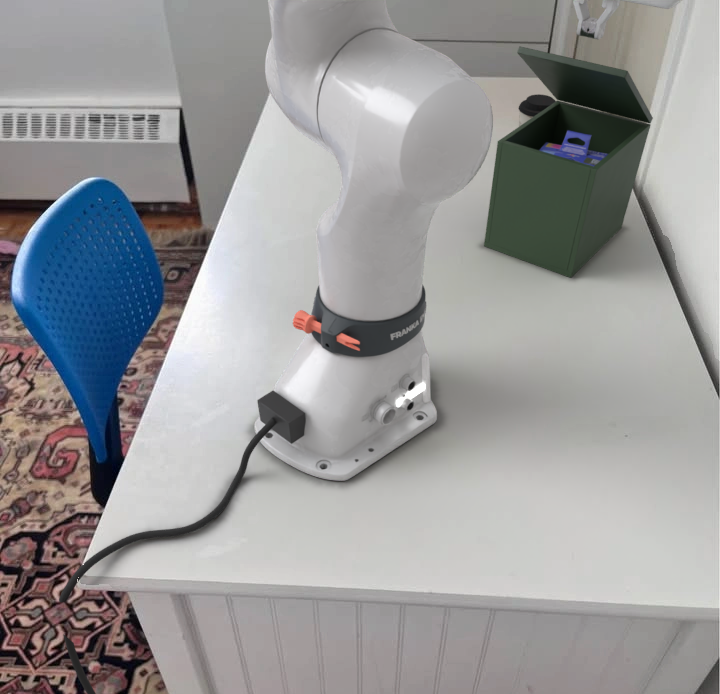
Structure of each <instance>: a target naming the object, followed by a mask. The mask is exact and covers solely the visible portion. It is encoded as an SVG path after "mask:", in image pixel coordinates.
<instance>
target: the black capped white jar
mask: <svg viewBox="0 0 720 694" xmlns="http://www.w3.org/2000/svg"><path fill="white" fill-rule="evenodd" d="M556 101H557V100H555V98H553V97H552V96H549V95H548V94H547V95H546V94H531V95H529V96H526V99H524V100H522V101H521V102H520V103H519V106H518V107H517V108H518V111H519V115H518V127H519V126H521V125H522V124H524V123H525V122H527V121H528V120H530V119H531V118H533V117H534V116H535V115H537V114H538V113H540V112H541V111H543V110H544V109H546V108H547V107H549V106H550V105H552V104H553V103H555V102H556Z"/></svg>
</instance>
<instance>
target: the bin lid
mask: <svg viewBox="0 0 720 694" xmlns="http://www.w3.org/2000/svg"><path fill="white" fill-rule="evenodd" d="M517 55H518V56H519V57H520V58H521V59H522V61H523V62H524V63H525V64H526V66H528V68H529V69H530V70H531V71H532V72H533V73H534V75H535V76H536V77H537V78H538V79H539V80H540V82H541V83H542V84H543V85H544V86H545V88H546V89H547V90H548V91H549V92H550V94H551V95H553V97H554V99H556V101H561V102H566V103H569V104H573V105H577V106H581V107H585V108H589V109H593V110H597V111H601V112H605V113H608V114H612V115H616V116H620V117H624V118H628V119H632V120H636V121H640V122H644V123H647V124H652V122H653V119H654V117H653V115H652V114H651V112H650V110H649V108H648V106H647V104H646V102H645V100H644V98H643V97H642V95H641V92H640V91H639V89H638V87H637V84H636V83H635V82H634V80H633V78H632V76H631V75H630V73H629V71H628V70H627V69H621V68H617V67H612V66H608V65H604V64H599V63H596V62H590V61H586V60H581V59H577V58H573V57H568V56H565V55H560V54H555V53H552V52H547V51H542V50H537V49H535V48H534V49H533V48H529V47H524V46H518V48H517Z"/></svg>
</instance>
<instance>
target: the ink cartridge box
mask: <svg viewBox="0 0 720 694" xmlns="http://www.w3.org/2000/svg"><path fill="white" fill-rule="evenodd" d="M591 136H592V135H587V134H583V133H578V132H573V131H569V130H567V133H566V136H565V138H564V141H563V143H562V145H558V144H553V143H548V142H546V143H545V144H544V145H543V147H542V148H541V149H540V150H539V151H543V152H546V153H550V154H553V155H556V156H560V157H563V158H567V159H570V160H574V161H577V162H580V163H584V164H587V165H591V166H593V167H594V166H595V165H596V164H597V163H598V162H600V161H601V160H602V159H603V158H604V157H606V156H607V155H608V154H607V153H602V152H596V151H591V150H588V147H589V144H590V139H591ZM569 138H579V139H581V140H583V141H584V142H585V145H583V146H581V145H577V144H571V143H568V139H569Z"/></svg>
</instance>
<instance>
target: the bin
mask: <svg viewBox="0 0 720 694" xmlns="http://www.w3.org/2000/svg"><path fill="white" fill-rule="evenodd" d="M555 101H556V102H555V103H553V104H552V105H550V106H549V107H547V108H546V109H544V110H543V111H541V112H540V113H538V114H537V115H535V116H534V117H533V118H531V119H530V120H528V121H527V122H525V123H524V124H522V125H521V126H519V125H518V127H516V128H515V129H513V130H512V131H511V132H509V133H508V134H506V135H505V136H503V137H502V138H500V139H499V140H497V143H496V144H497V145H496V152H495V160H494V168H493V175H492V182H491V189H490V197H489V204H488V211H487V212H488V213H487V219H486V228H485V235H484V242H483V247H485V248H488V249H490V250H494V251H496V252H499V253H502V254H504V255H507V256H509V257H513V258H515V259H518V260H521V261H524V262H527V263H529V264H532V265H535V266H537V267H540V268H542V269H545V270H548V271H551V272H554V273H555V274H560V275H563V276H565V277H568V278H572V277H573V276H574V275H575V274H576V273H578V272H579V270H580V269H581V268H582V267H583V266H585V265H586V263H588V262H589V261H590V260H591V259H592V258H593V257H594V256H595V255H596V254H597V253H598V252H599V251H600V250H601V249H602V248H603V247H604V246H605V245H606V244H607V243H608V242H609V241H610V240H611V239H612V238H613V237H614V236H615V235H616V234H617V233H618V232H619V231H620V230H621V229H622V227H623V224H624V220H625V217H626V214H627V209H628V206H629V204H630V199H631V196H632V192H633V189H634V188H633V187H634V185H635V182H636V177H637V175H638V171H639V167H640V164H641V161H642V157H643V153H644V149H645V146H646V143H647V140H648V135H649V132H650V129H651V125H652V123H646V122H642V121H638V120H634V119H630V118H626V117H622V116H619V115H615V114H611V113H607V112H603V111H599V110H595V109H591V108H587V107H583V106H579V105H576V104H572V103H568V102H564V101H560V100H555ZM567 130H569V131H573V132H578V133H583V134H587V135H592V136H591V139H590V144H589V147H588V150H591V151H596V152H602V153H607V154H608V155H607V156H606V157H604V158H603V159H602V160H601V161H600V162H598V163H597V164H596V165H595V166H594V167H593V166H591V165H587V164H584V163H580V162H577V161H574V160H570V159H567V158H563V157H560V156H556V155H553V154H550V153H546V152H543V151H539V150H540V149H541V148H542V147H543V145H544V144H545V143H546V142H548V143H553V144H558V145H562V143H563V141H564V138H565V136H566V133H567ZM568 143H571V144H577V145H581V146H583V145H585V142H584V141H583V140H581V139H579V138H569V139H568Z"/></svg>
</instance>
